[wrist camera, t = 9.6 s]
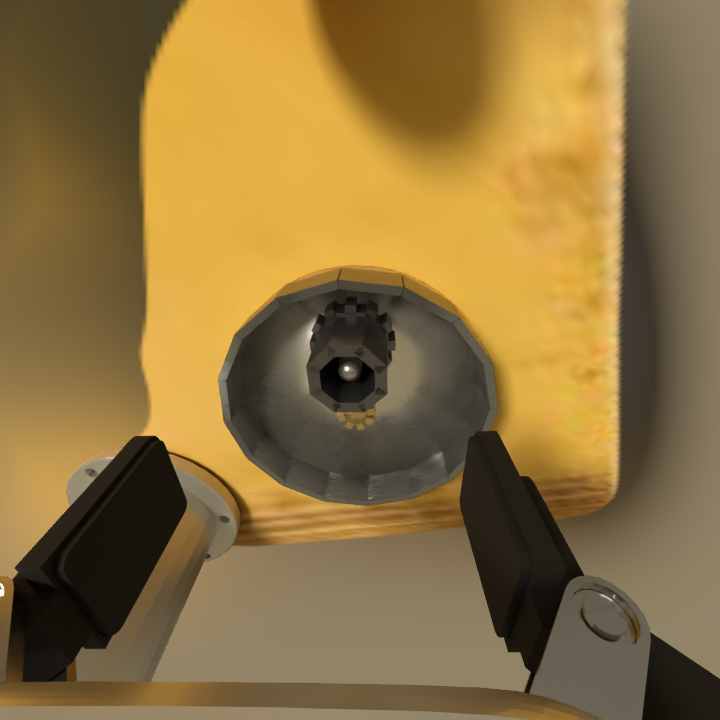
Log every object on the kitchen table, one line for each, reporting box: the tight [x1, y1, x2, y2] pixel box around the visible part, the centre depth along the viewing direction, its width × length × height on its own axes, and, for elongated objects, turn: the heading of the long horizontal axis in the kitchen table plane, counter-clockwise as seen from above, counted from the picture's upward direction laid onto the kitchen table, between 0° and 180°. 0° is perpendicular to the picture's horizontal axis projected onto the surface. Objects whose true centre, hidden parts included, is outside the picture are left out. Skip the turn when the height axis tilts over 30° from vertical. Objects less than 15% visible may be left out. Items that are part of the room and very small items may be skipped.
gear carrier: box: [218, 265, 498, 506], centre depth 18 cm, size 14×14×5 cm
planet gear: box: [306, 297, 396, 412], centre depth 15 cm, size 4×4×4 cm
